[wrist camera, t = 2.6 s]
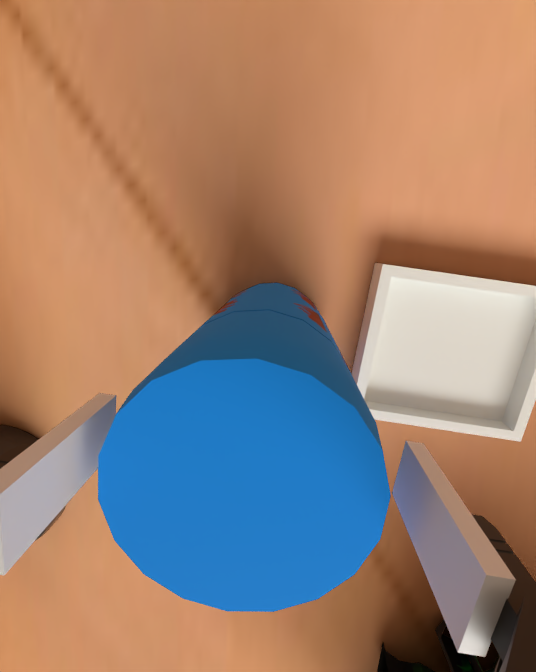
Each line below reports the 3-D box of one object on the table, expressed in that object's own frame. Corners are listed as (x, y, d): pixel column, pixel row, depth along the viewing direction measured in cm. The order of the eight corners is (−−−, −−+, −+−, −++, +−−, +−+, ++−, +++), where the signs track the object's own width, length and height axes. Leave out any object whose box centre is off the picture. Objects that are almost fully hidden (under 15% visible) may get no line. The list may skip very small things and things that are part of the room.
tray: (345, 403, 38) (350, 415, 35) (374, 262, 35) (382, 264, 32) (502, 426, 38) (520, 441, 35) (549, 287, 34) (574, 291, 31)
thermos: (223, 383, 38) (116, 614, 14) (214, 283, 36) (64, 359, 12) (324, 379, 38) (392, 617, 13) (323, 278, 35) (402, 346, 11)
